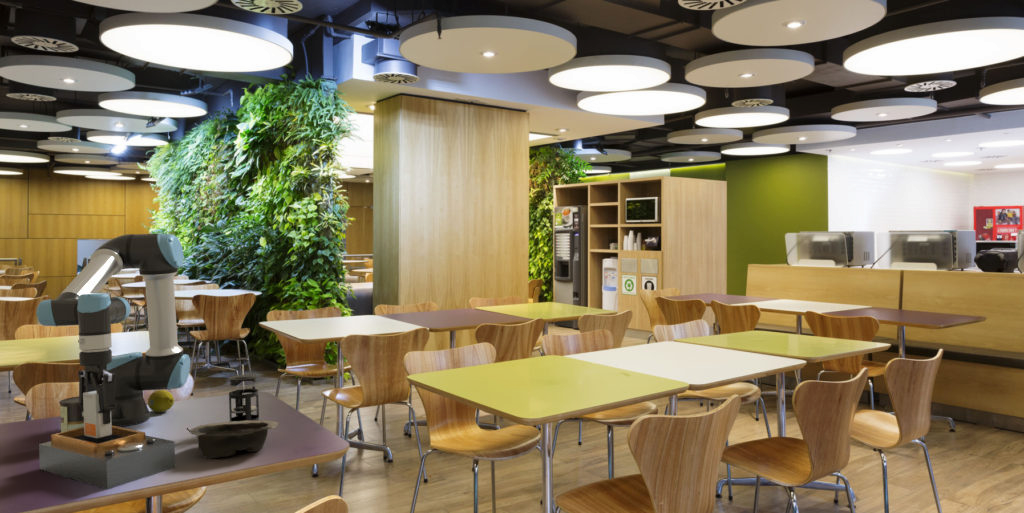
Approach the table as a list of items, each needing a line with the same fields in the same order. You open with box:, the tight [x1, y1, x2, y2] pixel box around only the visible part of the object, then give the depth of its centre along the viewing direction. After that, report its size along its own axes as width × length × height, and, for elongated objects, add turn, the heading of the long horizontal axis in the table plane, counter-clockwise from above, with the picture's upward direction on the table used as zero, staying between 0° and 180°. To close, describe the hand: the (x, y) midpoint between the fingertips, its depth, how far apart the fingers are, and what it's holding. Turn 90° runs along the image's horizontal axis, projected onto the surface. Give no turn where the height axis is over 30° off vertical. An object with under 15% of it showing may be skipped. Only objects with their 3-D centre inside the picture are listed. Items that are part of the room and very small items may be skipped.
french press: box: [227, 357, 260, 422], centre depth 218 cm, size 12×9×23 cm
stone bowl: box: [186, 419, 279, 459], centre depth 195 cm, size 25×25×9 cm
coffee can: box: [59, 395, 84, 433], centre depth 202 cm, size 10×10×14 cm
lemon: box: [147, 389, 175, 413], centre depth 241 cm, size 11×8×8 cm
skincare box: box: [83, 391, 112, 438], centre depth 181 cm, size 6×4×12 cm
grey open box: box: [38, 426, 176, 490], centre depth 180 cm, size 32×18×9 cm, turn 61°
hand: (98, 433), depth 181 cm, fingers closed on skincare box, 6 cm apart
